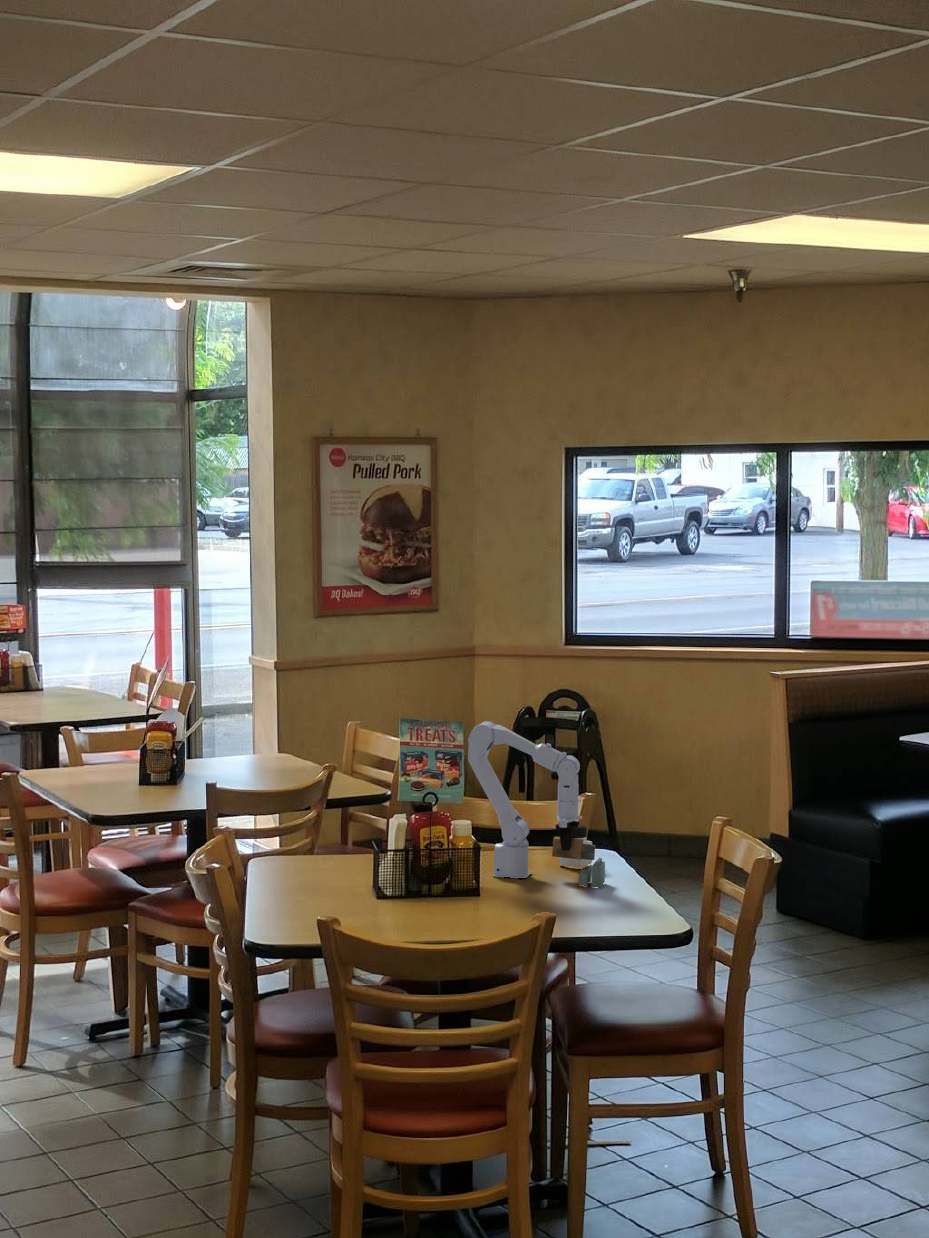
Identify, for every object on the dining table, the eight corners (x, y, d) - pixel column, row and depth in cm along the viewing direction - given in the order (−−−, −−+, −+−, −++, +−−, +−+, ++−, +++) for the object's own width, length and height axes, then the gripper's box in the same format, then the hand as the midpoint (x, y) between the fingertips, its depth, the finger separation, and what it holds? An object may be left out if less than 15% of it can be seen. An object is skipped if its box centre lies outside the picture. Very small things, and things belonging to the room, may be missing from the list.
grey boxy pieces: (578, 887, 394) (578, 861, 394) (582, 881, 400) (582, 856, 400) (600, 888, 392) (601, 863, 392) (604, 883, 399) (605, 858, 398)
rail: (552, 856, 403) (553, 838, 403) (554, 854, 406) (555, 836, 406) (593, 860, 400) (594, 842, 400) (594, 858, 403) (596, 840, 403)
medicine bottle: (592, 865, 421) (592, 824, 420) (580, 870, 415) (581, 828, 414) (570, 862, 425) (571, 821, 424) (558, 866, 419) (559, 825, 418)
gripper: (577, 805, 395) (576, 855, 395) (586, 796, 409) (585, 844, 409) (552, 804, 396) (551, 853, 397) (561, 795, 410) (561, 842, 411)
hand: (567, 848), depth 403 cm, fingers closed on rail, 3 cm apart
